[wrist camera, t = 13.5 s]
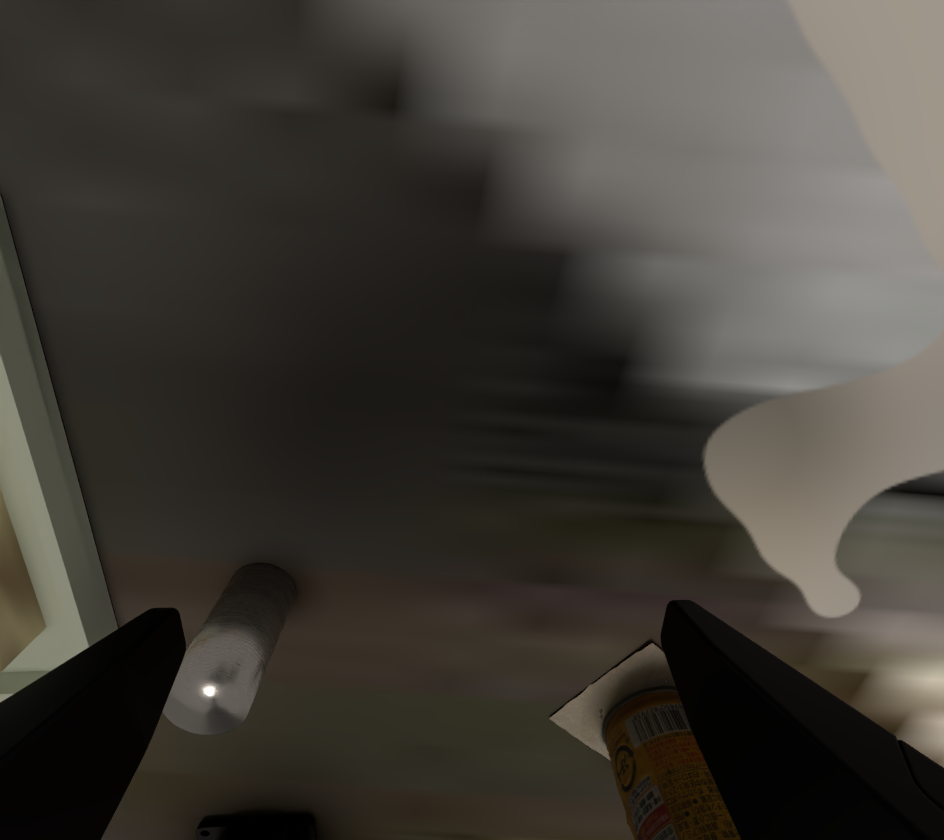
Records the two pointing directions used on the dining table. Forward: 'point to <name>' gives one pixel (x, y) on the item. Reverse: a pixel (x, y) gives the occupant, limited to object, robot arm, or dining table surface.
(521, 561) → the dining table surface
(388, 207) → the dining table surface
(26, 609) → the wooden block frame
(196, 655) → the cylinder
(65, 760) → the robot arm
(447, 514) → the dining table surface
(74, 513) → the tray
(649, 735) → the condiment
